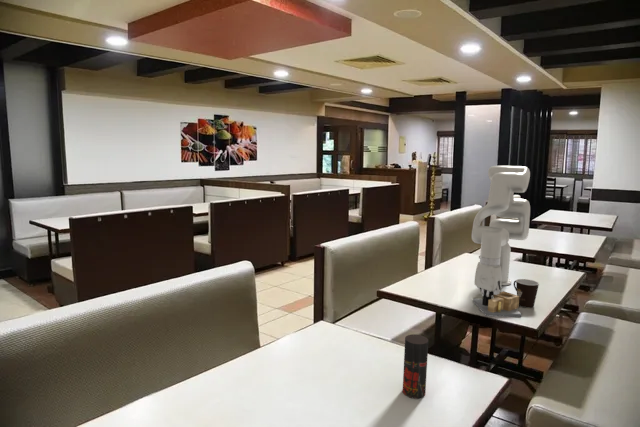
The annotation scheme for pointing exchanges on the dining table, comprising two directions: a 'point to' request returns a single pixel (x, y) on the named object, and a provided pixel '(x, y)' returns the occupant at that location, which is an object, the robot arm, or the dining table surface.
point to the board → (502, 313)
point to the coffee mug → (526, 292)
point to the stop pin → (499, 307)
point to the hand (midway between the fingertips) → (486, 304)
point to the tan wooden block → (503, 302)
